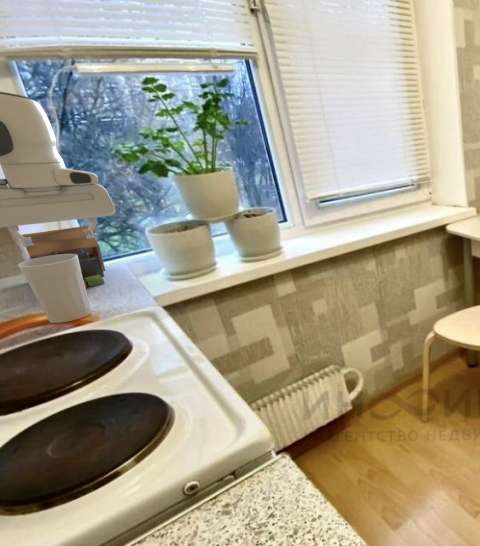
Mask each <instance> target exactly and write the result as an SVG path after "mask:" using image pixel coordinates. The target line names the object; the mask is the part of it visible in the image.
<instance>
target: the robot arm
mask: <svg viewBox="0 0 480 546" xmlns="http://www.w3.org/2000/svg"><path fill="white" fill-rule="evenodd" d="M0 168H1V170H2V173H3V175H4V178H0V229H1V228H7V229H8V232H9V233H10V234H11V235H13V236H14V237H16V238H17V239H19V240H20V241H21V244H22V246H23V248H26V247H30V246H34V244H33V242H32V239H31V237H24V236H22V235H23V234H21V233H20V228H19V227H20V226H26V225H28V226H29V225H37V224H46V223H55V222H56V223H57V222H63V221H73V220H83V219H86V222H87V223H89V224H88V226H89V228H88V230H83V232H84V234H85V238H86V239H89V238H96V234H95V232H94V231H95V229H96V227H97V225H98V219H97V218H101V217H110V216H113V215H114V214H115V213H116V207H115V205H114V202H113V200H112V198H111V196H110V194H109V191H108V190H107V189H106V188H105V187H104V186H102V185H100V184H99V177H98V175H97V174H96V173H94V172H92V171H86V170H79V169H78V168H68V167H67V166H66V164H65V162H64V159H63V157H62V156H61V155H60V154H59V151H58V149H57V138H56V135H55V131H54V129H53V127H52V123H51V121H50V119H49V116H48V115H47V113H46V111H45V110H44V108H43V107H42V105H41V104H40V103H39V102H37V101H36V100H34V98H33V99H32V98H30V97H29V96H24V95H22V94H17V93H16V94H15V93H12V92H11V93H10V92H4V91H0Z"/></svg>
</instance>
